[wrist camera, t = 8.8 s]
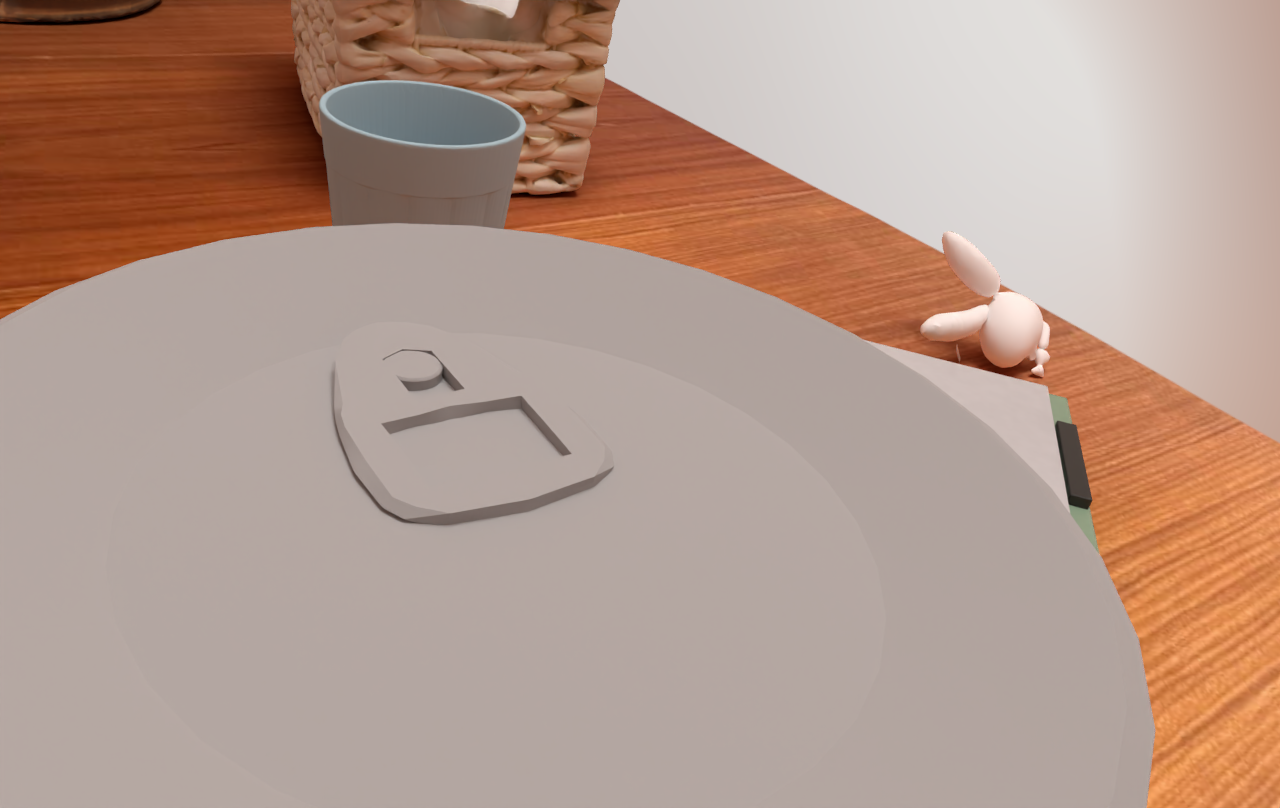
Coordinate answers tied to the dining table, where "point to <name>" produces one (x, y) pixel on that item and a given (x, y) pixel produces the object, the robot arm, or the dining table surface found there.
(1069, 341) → the dining table surface
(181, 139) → the dining table surface
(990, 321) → the rabbit figurine
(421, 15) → the basket
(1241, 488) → the dining table surface
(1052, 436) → the scale
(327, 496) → the canned food
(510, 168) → the cup
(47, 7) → the container
